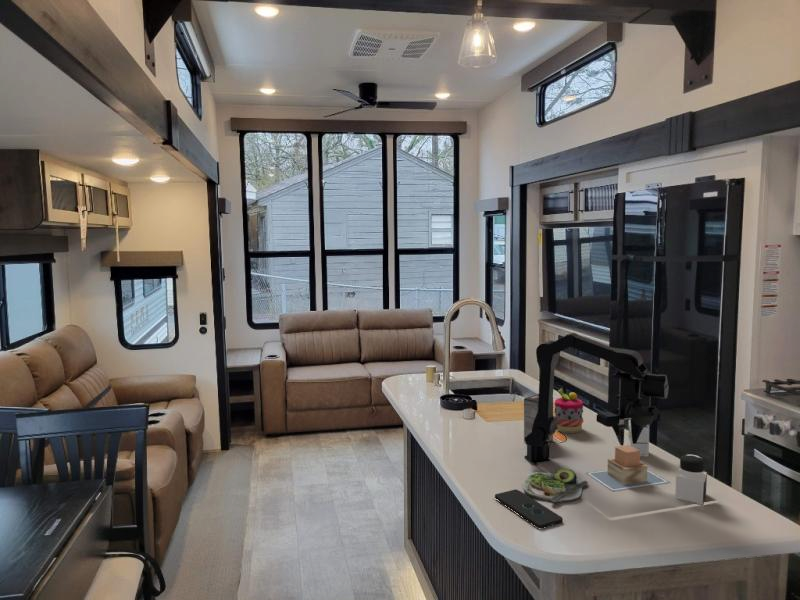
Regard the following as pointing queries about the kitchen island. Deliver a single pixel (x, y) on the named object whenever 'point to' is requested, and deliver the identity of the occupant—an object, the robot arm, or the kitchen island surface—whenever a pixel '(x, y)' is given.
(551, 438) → the coffee box
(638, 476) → the oak foundation
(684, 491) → the medicine bottle
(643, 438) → the syrup box
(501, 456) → the kitchen island surface
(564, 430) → the cake
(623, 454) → the terracotta block
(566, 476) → the salad plate
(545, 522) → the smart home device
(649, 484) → the board
